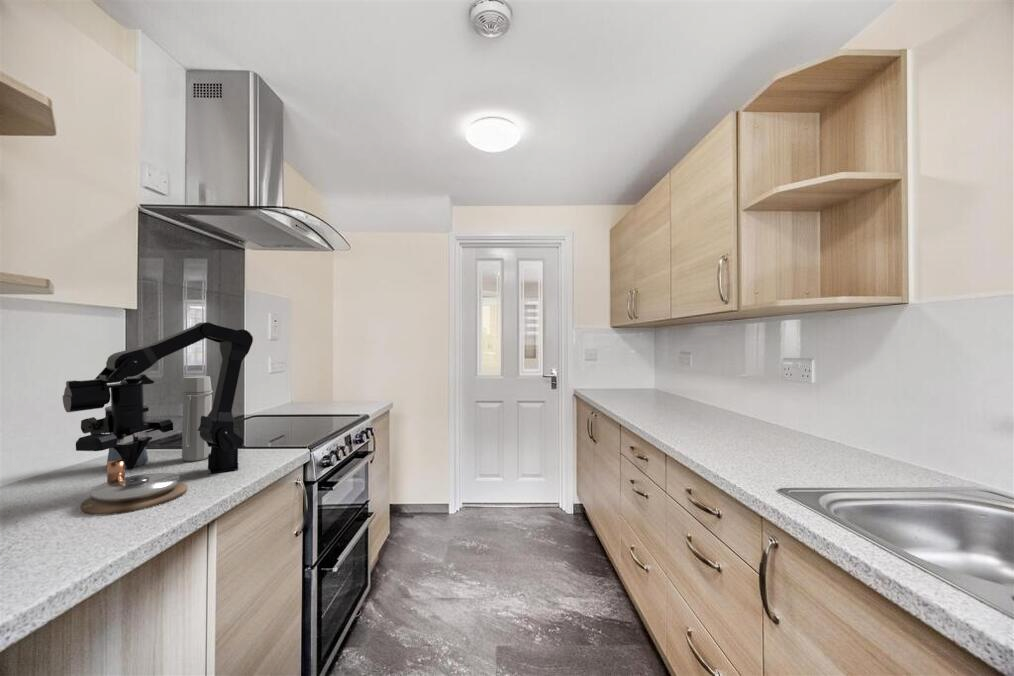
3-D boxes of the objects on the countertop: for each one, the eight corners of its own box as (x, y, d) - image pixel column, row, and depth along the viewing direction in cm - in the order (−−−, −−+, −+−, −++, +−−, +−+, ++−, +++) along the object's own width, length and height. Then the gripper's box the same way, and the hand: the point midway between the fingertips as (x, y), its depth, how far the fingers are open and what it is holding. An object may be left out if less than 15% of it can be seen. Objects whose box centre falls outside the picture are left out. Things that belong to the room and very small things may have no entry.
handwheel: (195, 484, 101) (195, 456, 101) (125, 508, 86) (125, 476, 86) (145, 479, 105) (146, 452, 105) (70, 501, 90) (71, 470, 90)
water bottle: (190, 456, 131) (191, 376, 131) (217, 455, 132) (218, 376, 132) (170, 464, 122) (171, 378, 122) (199, 463, 123) (200, 378, 123)
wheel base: (190, 480, 108) (190, 475, 108) (181, 503, 93) (182, 497, 93) (94, 493, 98) (95, 488, 98) (67, 521, 83) (67, 515, 83)
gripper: (134, 397, 109) (136, 456, 110) (51, 412, 91) (54, 483, 91) (174, 397, 108) (176, 457, 109) (98, 413, 90) (101, 484, 90)
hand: (130, 469), depth 100 cm, fingers closed
